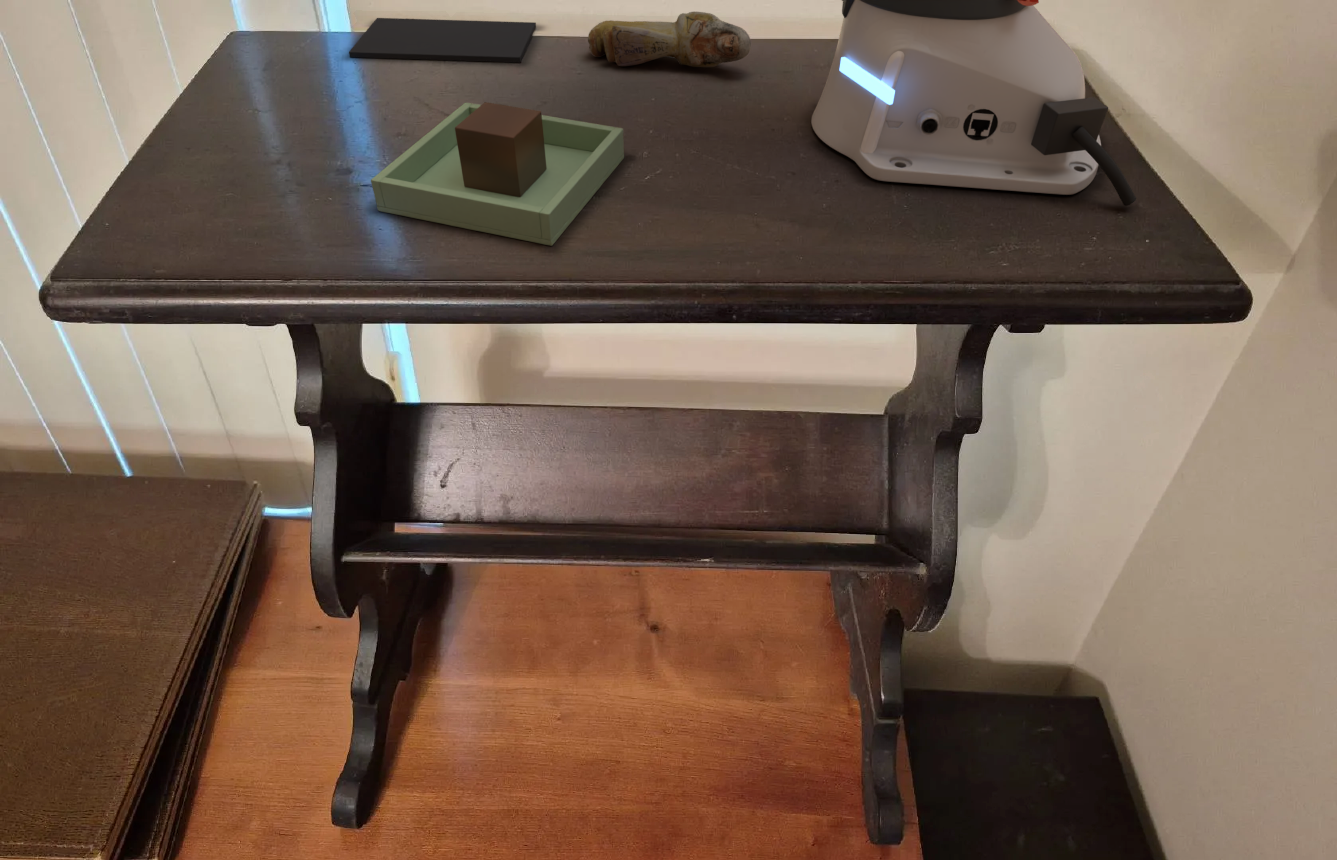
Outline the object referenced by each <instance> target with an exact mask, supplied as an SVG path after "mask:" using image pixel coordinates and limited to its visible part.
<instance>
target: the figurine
mask: <svg viewBox="0 0 1337 860" xmlns="http://www.w3.org/2000/svg"><path fill="white" fill-rule="evenodd" d="M750 37H751V36H750V35H749V33H748V32H747V31H746V30H745V29H744V28H742V27H740V26H738V25H735V24H732V23H729V22H726V21H725V20H722V19H720V18H719V17H718V16H716V15H715V14H713V13H711V12H706V11H705V12H704V11H690V12H687V13H686V12H685V13H684V12H683V13H680V14H679V15H678V16H677V19H676V21H675V22H672V21H648V20H647V21H645V20H644V21H643V20H642V21H625V20H603V21H600V22H598V24H596V25H595V26H593V27H592V28H591V29H590V31H589V32H588V36H587V42H588V45H589V51H590V54H592V56H593V57H598V58H600V57H603V56H605V55H606V59H607V62H608V63H616V65H617V67H631V66H636V65H641V64H644V63H647V62H650V61H653V60H657V59H660V58H664V57H666V58H667V57H668V58H674V59H675V60H676V61H677V62H678V63H679V65H680V66H688V67H692V68H715V67H717V66H719V65H721V64H724V63H731V62H733V63H734V62H736V61H739V60H742V59H744V58H745V57H747V56H748V55H749V53H750V51H751V48H752V41H751V38H750Z"/></svg>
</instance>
